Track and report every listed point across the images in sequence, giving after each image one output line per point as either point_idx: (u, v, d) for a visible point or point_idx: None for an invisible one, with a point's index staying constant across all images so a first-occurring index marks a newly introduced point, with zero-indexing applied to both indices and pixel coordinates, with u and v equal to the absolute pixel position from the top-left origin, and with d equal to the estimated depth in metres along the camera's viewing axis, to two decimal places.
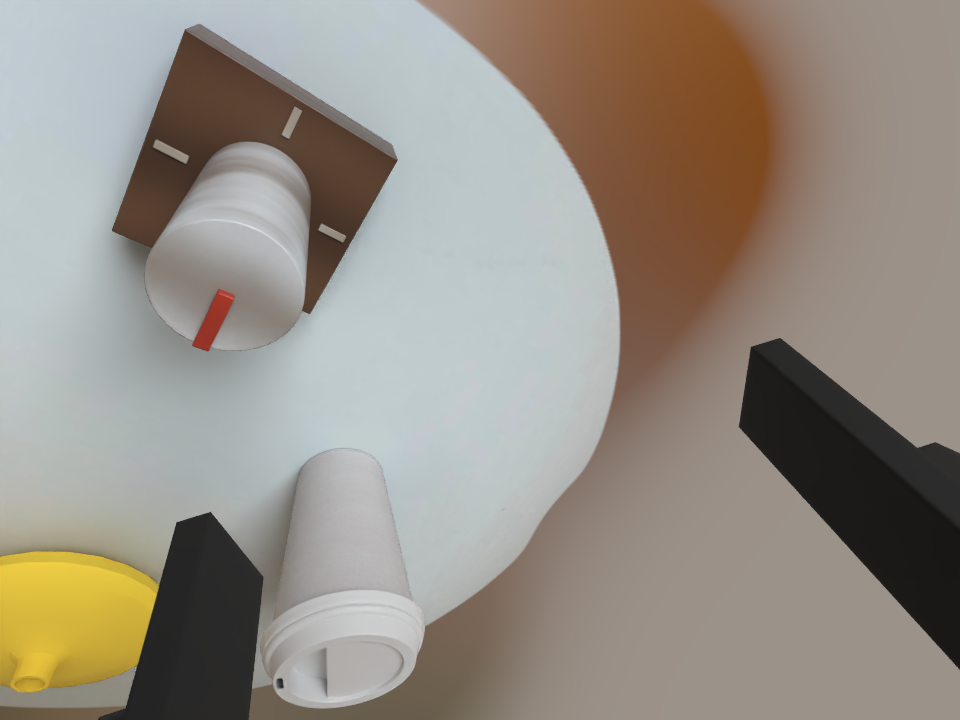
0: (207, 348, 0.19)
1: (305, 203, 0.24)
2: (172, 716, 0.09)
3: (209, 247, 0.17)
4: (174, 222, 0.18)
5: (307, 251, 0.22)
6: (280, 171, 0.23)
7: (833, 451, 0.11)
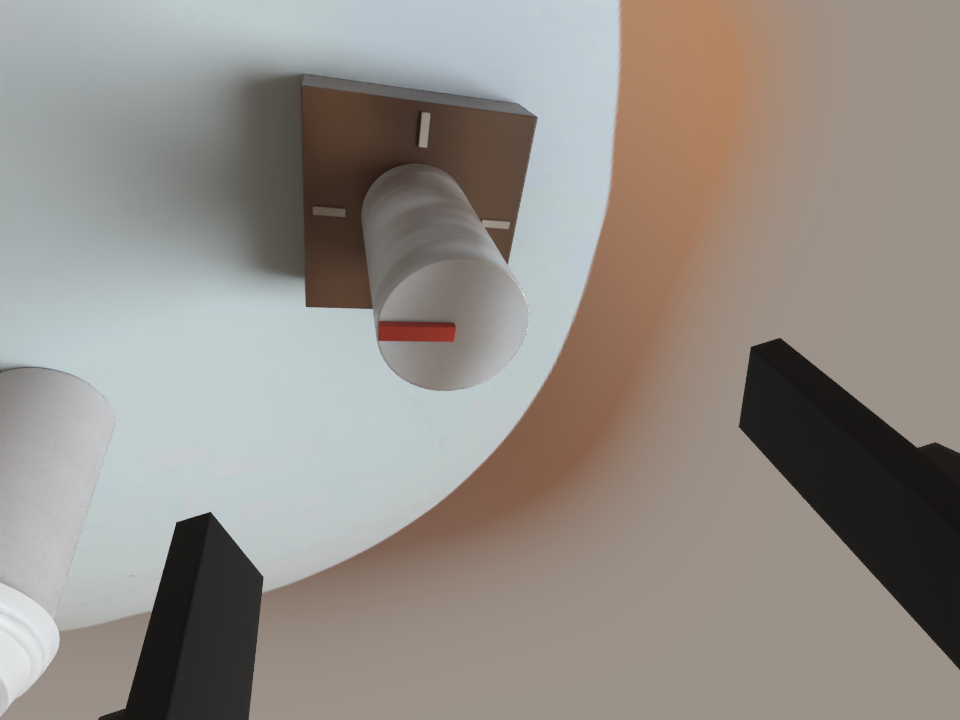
0: (382, 339, 0.17)
1: None
2: (172, 716, 0.09)
3: (497, 302, 0.17)
4: (493, 255, 0.17)
5: None
6: None
7: (833, 451, 0.11)
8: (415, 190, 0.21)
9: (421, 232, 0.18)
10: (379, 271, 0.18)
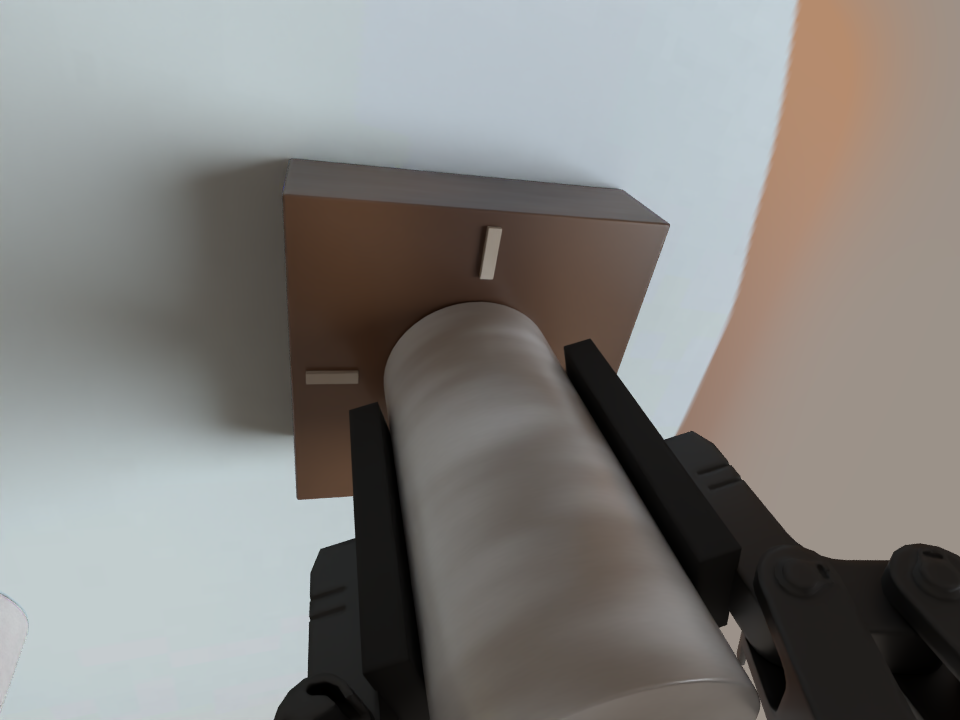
0: None
1: None
2: (395, 537, 0.11)
3: None
4: (692, 618, 0.08)
5: None
6: None
7: (609, 439, 0.12)
8: (488, 385, 0.12)
9: (530, 548, 0.08)
10: (440, 622, 0.09)
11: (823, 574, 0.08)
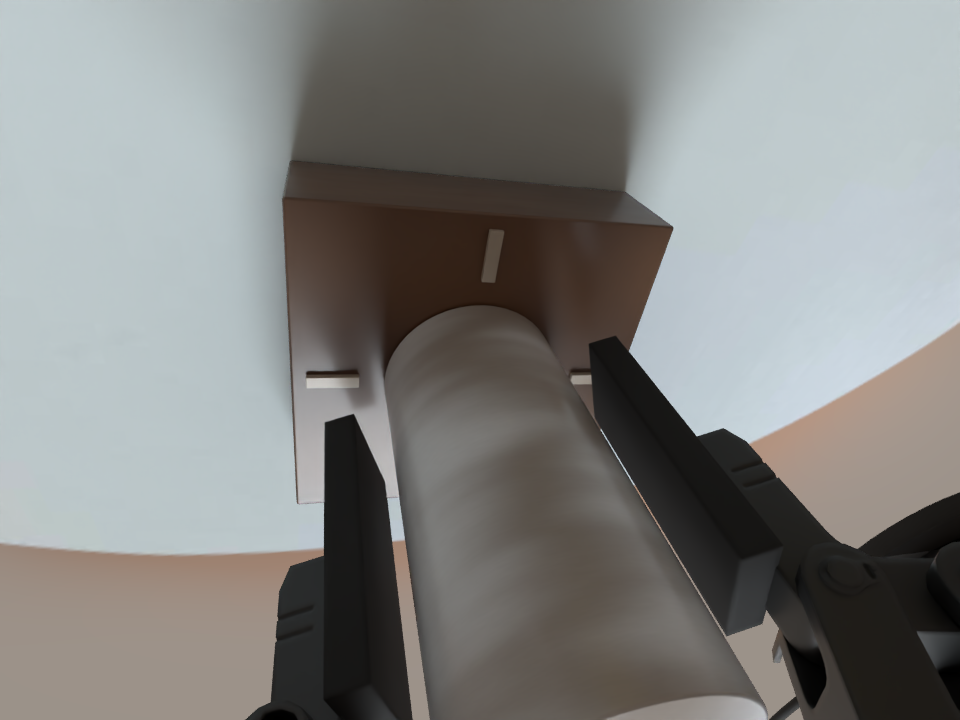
0: None
1: None
2: (364, 555, 0.10)
3: None
4: (698, 629, 0.08)
5: None
6: None
7: (638, 436, 0.12)
8: (490, 390, 0.11)
9: (533, 558, 0.08)
10: (442, 633, 0.08)
11: (870, 573, 0.08)
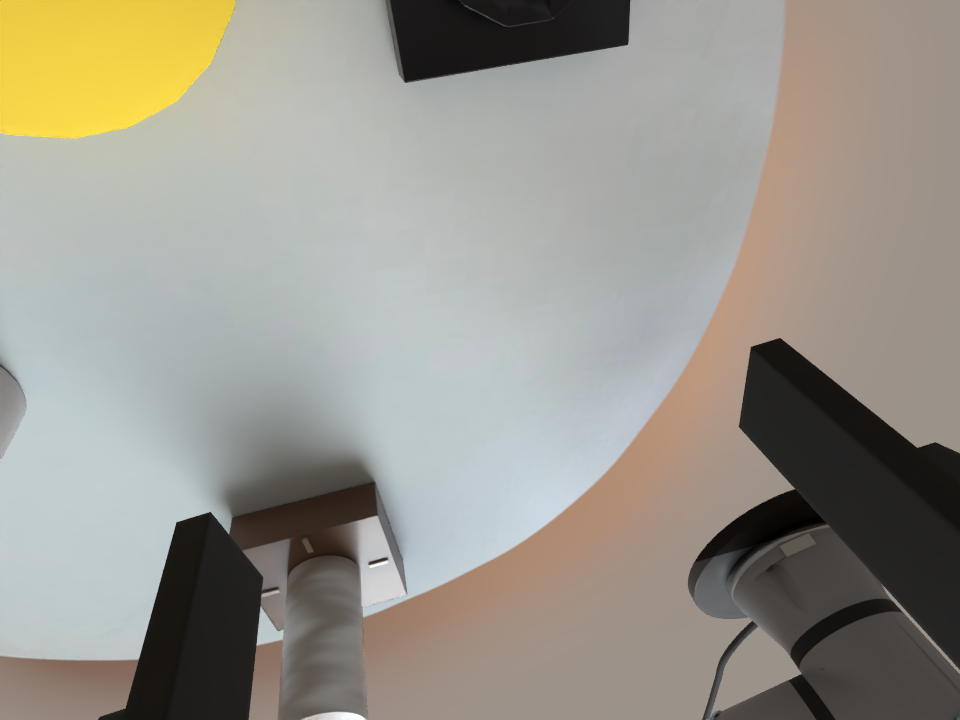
0: None
1: None
2: (172, 716, 0.09)
3: None
4: (331, 694, 0.30)
5: None
6: None
7: (833, 451, 0.11)
8: (302, 610, 0.34)
9: (294, 679, 0.31)
10: None
11: None
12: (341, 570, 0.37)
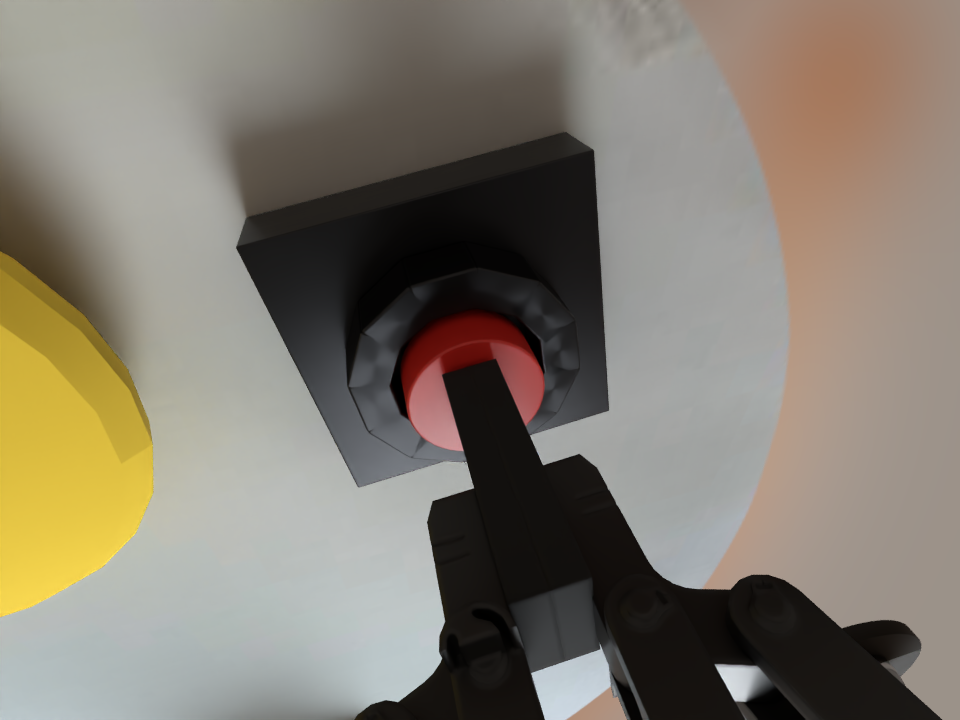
0: None
1: None
2: None
3: None
4: None
5: None
6: None
7: None
8: None
9: None
10: None
11: (662, 599, 0.09)
12: None
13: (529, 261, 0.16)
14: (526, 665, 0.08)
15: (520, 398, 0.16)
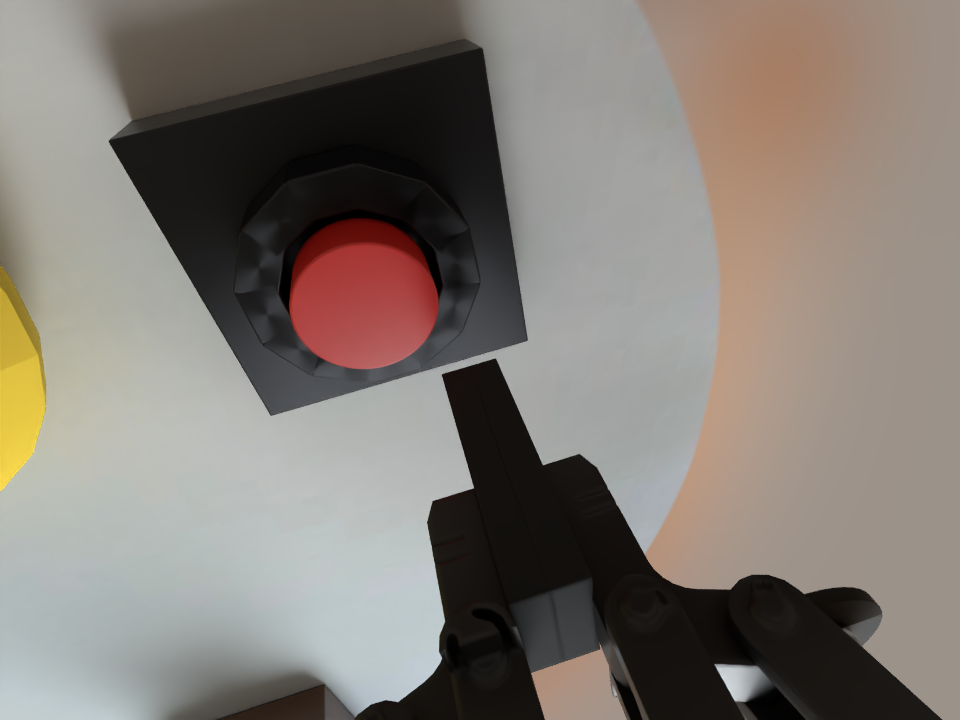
0: None
1: None
2: None
3: None
4: None
5: None
6: None
7: None
8: None
9: None
10: None
11: (662, 600, 0.09)
12: None
13: (426, 170, 0.16)
14: (526, 665, 0.08)
15: (412, 311, 0.15)
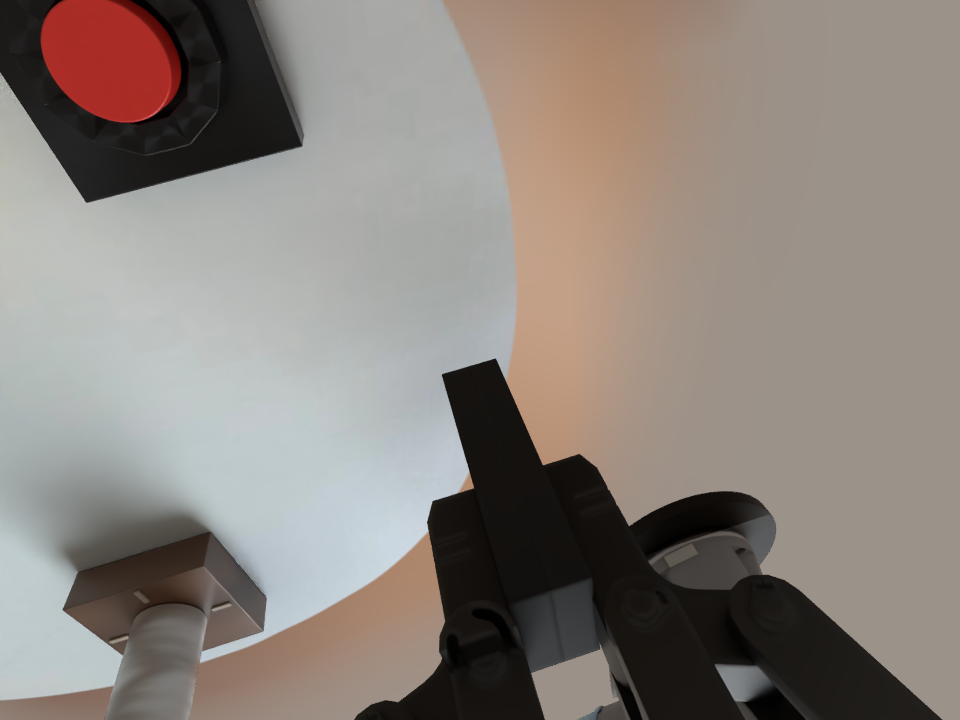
0: None
1: None
2: None
3: None
4: None
5: None
6: (197, 651, 0.39)
7: None
8: (129, 660, 0.37)
9: None
10: None
11: (662, 600, 0.09)
12: (177, 617, 0.39)
13: None
14: (526, 665, 0.08)
15: (148, 66, 0.20)
